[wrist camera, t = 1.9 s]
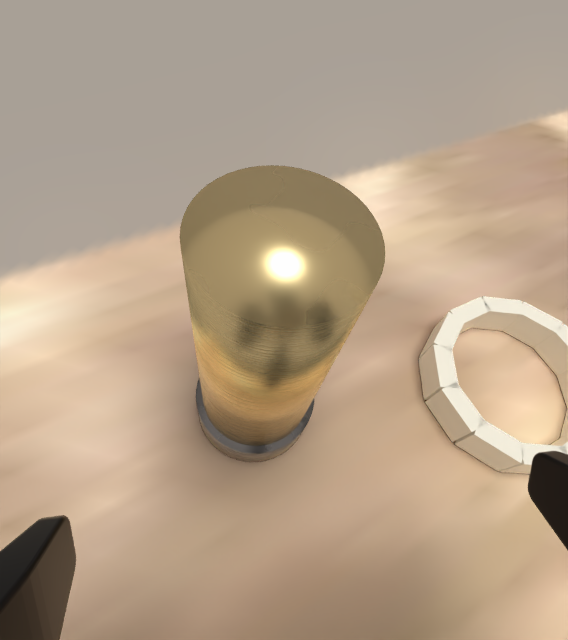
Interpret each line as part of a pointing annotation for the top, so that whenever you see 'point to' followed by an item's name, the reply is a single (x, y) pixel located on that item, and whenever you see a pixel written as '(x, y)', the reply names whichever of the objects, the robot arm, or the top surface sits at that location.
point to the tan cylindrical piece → (272, 299)
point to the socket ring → (452, 403)
